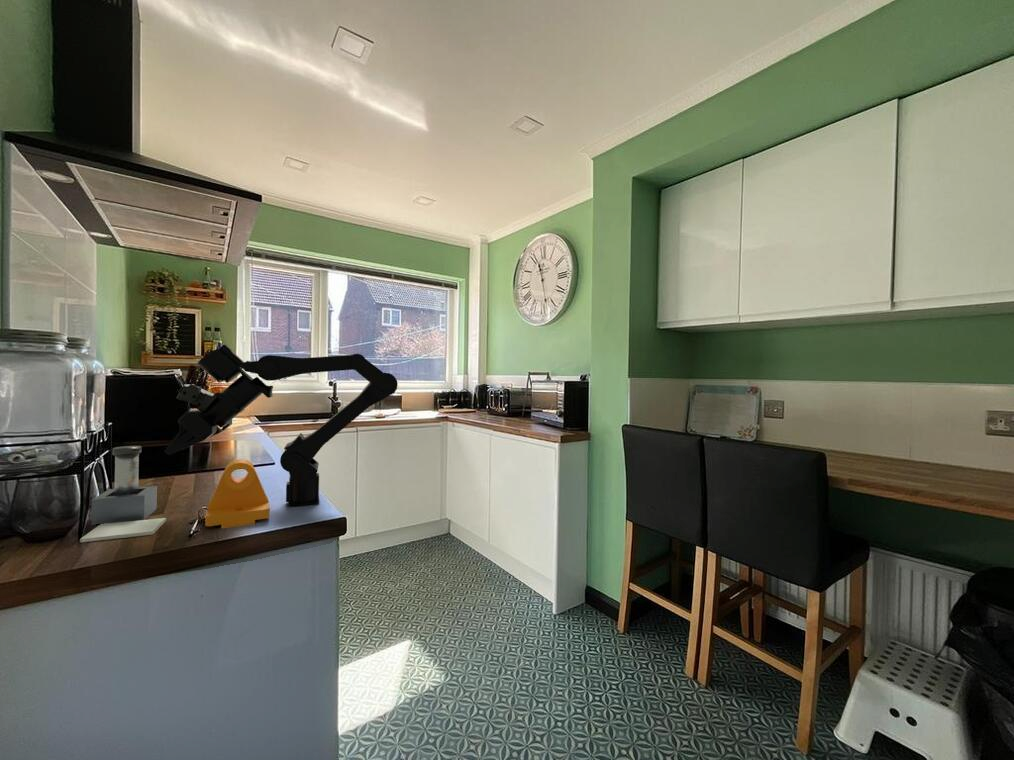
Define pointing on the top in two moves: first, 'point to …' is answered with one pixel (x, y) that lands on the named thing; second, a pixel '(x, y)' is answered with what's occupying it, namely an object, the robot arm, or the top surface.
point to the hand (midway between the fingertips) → (174, 449)
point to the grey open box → (123, 506)
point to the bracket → (237, 498)
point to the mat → (123, 529)
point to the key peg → (126, 470)
